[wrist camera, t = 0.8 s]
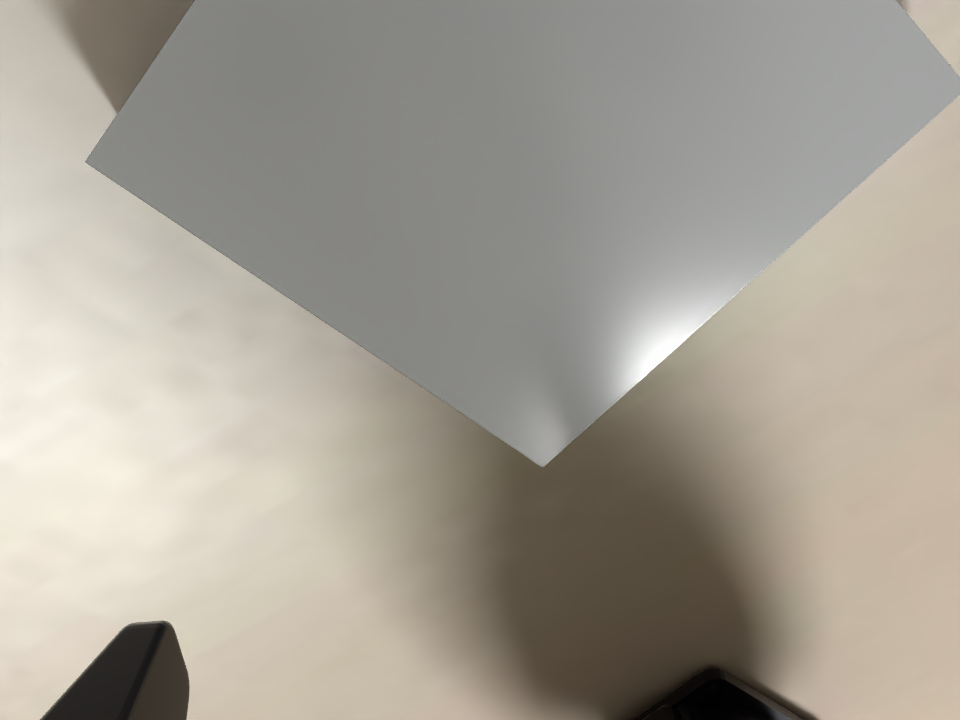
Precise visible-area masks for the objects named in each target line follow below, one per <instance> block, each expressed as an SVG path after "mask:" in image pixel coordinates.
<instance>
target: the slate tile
mask: <svg viewBox="0 0 960 720" xmlns="http://www.w3.org/2000/svg"><path fill="white" fill-rule="evenodd" d="M959 95H960V77H959V76H958V75H957V73H956V72H955V71H954V70H953V68H952V67H951V66H950V65H949V64H948V62H947V61H946V60H945V59H944V58H943V56H942V55H941V54H940V53H939V51H938V50H937V49H936V48H935V47H934V45H933V44H932V43H931V42H930V41H929V39H928V38H927V37H926V36H925V34H924V33H923V32H922V31H921V30H920V28H919V27H918V26H917V25H916V24H915V22H914V21H913V20H912V19H911V17H910V16H909V15H908V14H907V13H906V11H905V10H904V9H903V8H902V7H901V5H900V4H899V3H898V2H897V0H194V2H193V3H192V5H191V6H190V8H189V9H188V11H187V12H186V14H185V15H184V17H183V18H182V20H181V21H180V23H179V24H178V25H177V27H176V28H175V30H174V31H173V33H172V34H171V36H170V37H169V39H168V40H167V42H166V43H165V45H164V46H163V48H162V49H161V51H160V52H159V54H158V55H157V56H156V58H155V59H154V61H153V62H152V64H151V65H150V67H149V68H148V70H147V71H146V73H145V74H144V76H143V77H142V79H141V80H140V82H139V83H138V84H137V86H136V87H135V89H134V90H133V92H132V93H131V95H130V96H129V98H128V99H127V101H126V102H125V104H124V105H123V107H122V108H121V110H120V111H119V113H118V114H117V115H116V117H115V118H114V120H113V121H112V123H111V124H110V126H109V127H108V129H107V130H106V132H105V133H104V135H103V136H102V138H101V139H100V141H99V142H98V143H97V145H96V146H95V148H94V149H93V151H92V152H91V154H90V155H89V157H88V158H87V160H86V161H85V162H86V163H87V164H89V165H90V166H92V167H93V168H95V169H96V170H98V171H99V172H101V173H102V174H104V175H105V176H107V177H108V178H109V179H111V180H112V181H114V182H115V183H117V184H118V185H120V186H121V187H123V188H124V189H126V190H127V191H129V192H130V193H132V194H133V195H135V196H136V197H138V198H139V199H141V200H142V201H144V202H145V203H147V204H148V205H150V206H151V207H153V208H154V209H156V210H157V211H159V212H160V213H162V214H163V215H165V216H166V217H168V218H169V219H171V220H172V221H174V222H175V223H177V224H178V225H180V226H181V227H183V228H184V229H186V230H187V231H189V232H190V233H192V234H193V235H195V236H196V237H198V238H199V239H201V240H202V241H204V242H205V243H207V244H208V245H210V246H211V247H213V248H214V249H216V250H217V251H219V252H220V253H222V254H223V255H225V256H226V257H228V258H229V259H231V260H232V261H234V262H235V263H237V264H238V265H240V266H241V267H243V268H244V269H246V270H247V271H249V272H250V273H252V274H253V275H255V276H256V277H258V278H259V279H261V280H262V281H264V282H265V283H267V284H268V285H270V286H271V287H273V288H274V289H276V290H277V291H279V292H280V293H282V294H283V295H285V296H286V297H288V298H289V299H291V300H292V301H294V302H295V303H297V304H298V305H300V306H301V307H303V308H304V309H306V310H307V311H309V312H310V313H312V314H313V315H315V316H316V317H318V318H319V319H321V320H322V321H324V322H325V323H327V324H328V325H330V326H331V327H333V328H334V329H336V330H337V331H339V332H340V333H342V334H343V335H345V336H346V337H348V338H349V339H351V340H352V341H354V342H355V343H357V344H358V345H360V346H361V347H363V348H364V349H366V350H367V351H369V352H370V353H372V354H373V355H375V356H376V357H378V358H379V359H381V360H382V361H384V362H385V363H387V364H388V365H390V366H391V367H393V368H394V369H396V370H397V371H399V372H400V373H402V374H403V375H405V376H406V377H408V378H409V379H411V380H412V381H414V382H415V383H417V384H418V385H420V386H421V387H423V388H424V389H426V390H427V391H429V392H430V393H432V394H433V395H435V396H436V397H438V398H439V399H441V400H442V401H444V402H445V403H447V404H448V405H450V406H451V407H453V408H454V409H456V410H457V411H459V412H460V413H462V414H463V415H465V416H466V417H468V418H469V419H471V420H472V421H473V422H475V423H476V424H478V425H479V426H481V427H482V428H484V429H485V430H487V431H488V432H490V433H491V434H493V435H494V436H496V437H497V438H499V439H500V440H502V441H503V442H505V443H506V444H508V445H509V446H511V447H512V448H514V449H515V450H517V451H518V452H520V453H521V454H523V455H524V456H526V457H527V458H529V459H530V460H532V461H533V462H535V463H536V464H538V465H539V466H541V467H542V468H543V467H544V466H545V465H547V464H548V463H549V462H550V461H551V460H552V459H553V458H554V457H555V456H557V455H558V454H559V453H560V452H561V451H562V450H563V449H564V448H566V447H567V446H568V445H569V444H570V443H571V442H572V441H573V440H574V439H576V438H577V437H578V436H579V435H580V434H581V433H582V432H583V431H585V430H586V429H587V428H588V427H589V426H590V425H591V424H592V423H593V422H595V421H596V420H597V419H598V418H599V417H600V416H601V415H602V414H604V413H605V412H606V411H607V410H608V409H609V408H610V407H611V406H612V405H614V404H615V403H616V402H617V401H618V400H619V399H620V398H621V397H623V396H624V395H625V394H626V393H627V392H628V391H629V390H630V389H631V388H633V387H634V386H635V385H636V384H637V383H638V382H639V381H640V380H642V379H643V378H644V377H645V376H646V375H647V374H648V373H649V372H650V371H652V370H653V369H654V368H655V367H656V366H657V365H658V364H659V363H661V362H662V361H663V360H664V359H665V358H666V357H667V356H668V355H669V354H671V353H672V352H673V351H674V350H675V349H676V348H677V347H678V346H680V345H681V344H682V343H683V342H684V341H685V340H686V339H687V338H688V337H690V336H691V335H692V334H693V333H694V332H695V331H696V330H697V329H699V328H700V327H701V326H702V325H703V324H704V323H705V322H706V321H708V320H709V319H710V318H711V317H712V316H713V315H714V314H715V313H716V312H718V311H719V310H720V309H721V308H722V307H723V306H724V305H725V304H727V303H728V302H729V301H730V300H731V299H732V298H733V297H734V296H735V295H737V294H738V293H739V292H740V291H741V290H742V289H743V288H744V287H746V286H747V285H748V284H749V283H750V282H751V281H752V280H753V279H754V278H756V277H757V276H758V275H759V274H760V273H761V272H762V271H763V270H765V269H766V268H767V267H768V266H769V265H770V264H771V263H772V262H773V261H775V260H776V259H777V258H778V257H779V256H780V255H781V254H782V253H784V252H785V251H786V250H787V249H788V248H789V247H790V246H791V245H792V244H794V243H795V242H796V241H797V240H798V239H799V238H800V237H801V236H803V235H804V234H805V233H806V232H807V231H808V230H809V229H810V228H811V227H813V226H814V225H815V224H816V223H817V222H818V221H819V220H820V219H822V218H823V217H824V216H825V215H826V214H827V213H828V212H829V211H830V210H832V209H833V208H834V207H835V206H836V205H837V204H838V203H839V202H841V201H842V200H843V199H844V198H845V197H846V196H847V195H848V194H849V193H851V192H852V191H853V190H854V189H855V188H856V187H857V186H858V185H860V184H861V183H862V182H863V181H864V180H865V179H866V178H867V177H868V176H870V175H871V174H872V173H873V172H874V171H875V170H876V169H877V168H879V167H880V166H881V165H882V164H883V163H884V162H885V161H886V160H887V159H889V158H890V157H891V156H892V155H893V154H894V153H895V152H896V151H898V150H899V149H900V148H901V147H902V146H903V145H904V144H905V143H906V142H908V141H909V140H910V139H911V138H912V137H913V136H914V135H915V134H917V133H918V132H919V131H920V130H921V129H922V128H923V127H924V126H926V125H927V124H928V123H929V122H930V121H931V120H932V119H933V118H934V117H936V116H937V115H938V114H939V113H940V112H941V111H942V110H943V109H945V108H946V107H947V106H948V105H949V104H950V103H951V102H952V101H953V100H955V99H956V98H957V97H958V96H959Z"/></svg>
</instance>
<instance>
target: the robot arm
mask: <svg viewBox="0 0 960 720" xmlns="http://www.w3.org/2000/svg"><path fill="white" fill-rule="evenodd" d="M188 702H189V677H188V672H187V669H186V665H185V662H184V659H183V656H182V653H181V649H180V646H179V643H178V640H177V636H176V633H175V630H174V628H173V626H172V625H171V624H170V623H169V622H167V621H151V622H137V623H131V624H129V625H127V626H126V627H124V628H123V629H122V630H121V631H120V632H119V633H118V634H117V635H116V636H115V637H114V639H113V640H112V641H111V642H110V643H109V644H108V645H107V646H106V647H105V649H104V650H103V651H102V652H101V653H100V654H99V655H98V656H97V657H96V658H95V660H94V661H93V662H92V663H91V664H90V665H89V666H88V667H87V668H86V669H85V671H84V672H83V673H82V674H81V675H80V676H79V677H78V678H77V679H76V681H75V682H74V683H73V684H72V685H71V686H70V687H69V688H68V689H67V690H66V692H65V693H64V694H63V695H62V696H61V697H60V698H59V699H58V700H57V702H56V703H55V704H54V705H53V706H52V707H51V708H50V709H49V710H48V711H47V713H46V714H45V715H44V716H43V717H42V718H41V719H40V720H186V718H187V710H188ZM635 720H803V719H802V718H800V717H798V716H797V715H795V714H793V713H792V712H790V711H789V710H787V709H785V708H784V707H782V706H780V705H779V704H777V703H775V702H774V701H772V700H771V699H769V698H767V697H766V696H764V695H762V694H761V693H759V692H757V691H756V690H754V689H753V688H751V687H749V686H748V685H746V684H744V683H743V682H741V681H740V680H738V679H736V678H735V677H733V676H731V675H730V674H728V673H726V672H725V671H723V670H720V669H709V670H706V671H704V672H702V673H700V674H699V675H698V676H696V677H695V678H693V679H692V680H691V681H689V682H688V683H686V684H685V685H683V686H682V687H681V688H679V689H678V690H676V691H675V692H674V693H672V694H671V695H669V696H668V697H666V698H665V699H664V700H662V701H661V702H659V703H658V704H657V705H655V706H654V707H652V708H651V709H649V710H648V711H647V712H645V713H644V714H642V715H641V716H640V717H638V718H637V719H635Z"/></svg>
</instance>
